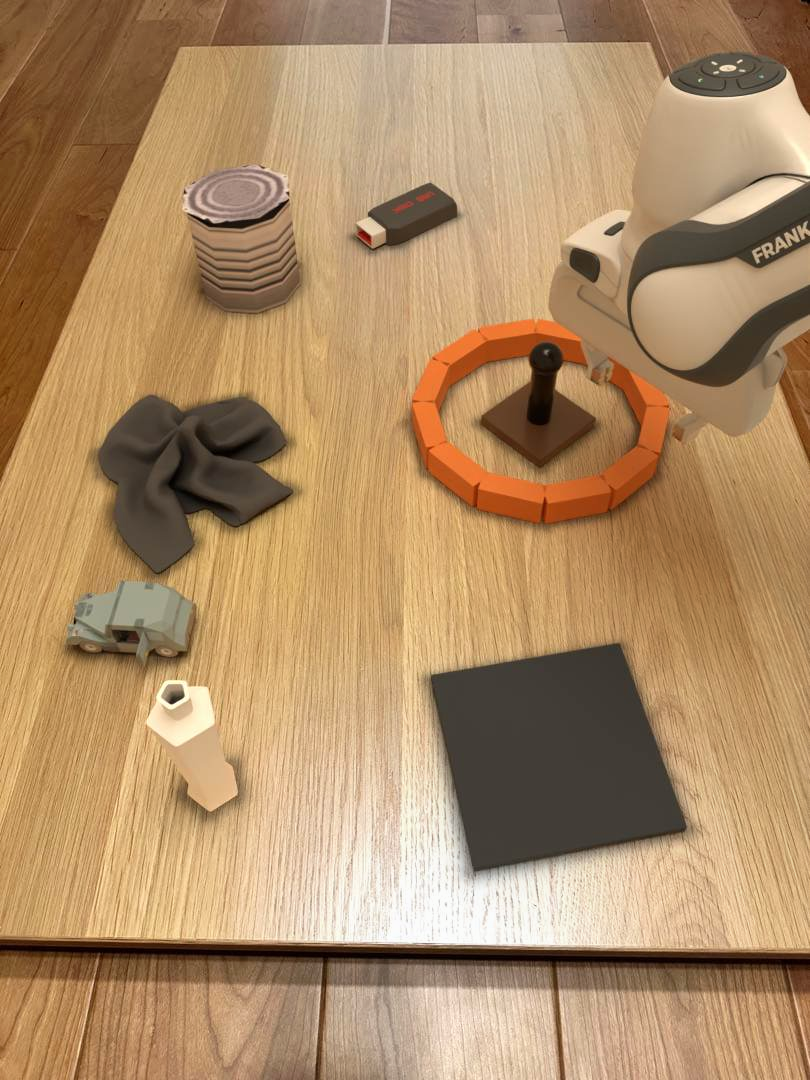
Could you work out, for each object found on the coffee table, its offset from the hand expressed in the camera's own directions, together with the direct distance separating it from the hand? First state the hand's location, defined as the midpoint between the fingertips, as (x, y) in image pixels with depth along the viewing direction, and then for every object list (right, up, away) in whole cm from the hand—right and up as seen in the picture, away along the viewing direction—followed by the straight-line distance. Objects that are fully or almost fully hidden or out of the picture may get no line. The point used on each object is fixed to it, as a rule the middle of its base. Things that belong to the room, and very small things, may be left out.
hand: (640, 407), depth 84 cm
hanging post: (-7, 0, +13) cm, 15 cm away
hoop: (-7, 0, +13) cm, 15 cm away
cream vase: (-35, -30, -9) cm, 47 cm away
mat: (-9, -28, -8) cm, 30 cm away
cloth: (-40, -5, +10) cm, 42 cm away
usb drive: (-20, +26, +34) cm, 47 cm away
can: (-38, +18, +28) cm, 50 cm away
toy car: (-43, -20, -1) cm, 48 cm away
